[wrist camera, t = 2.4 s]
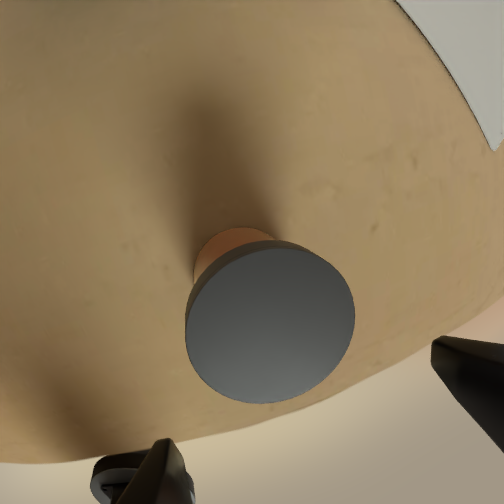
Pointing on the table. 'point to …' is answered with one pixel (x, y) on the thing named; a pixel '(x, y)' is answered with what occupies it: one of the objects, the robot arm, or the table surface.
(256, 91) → the table surface
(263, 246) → the lid
